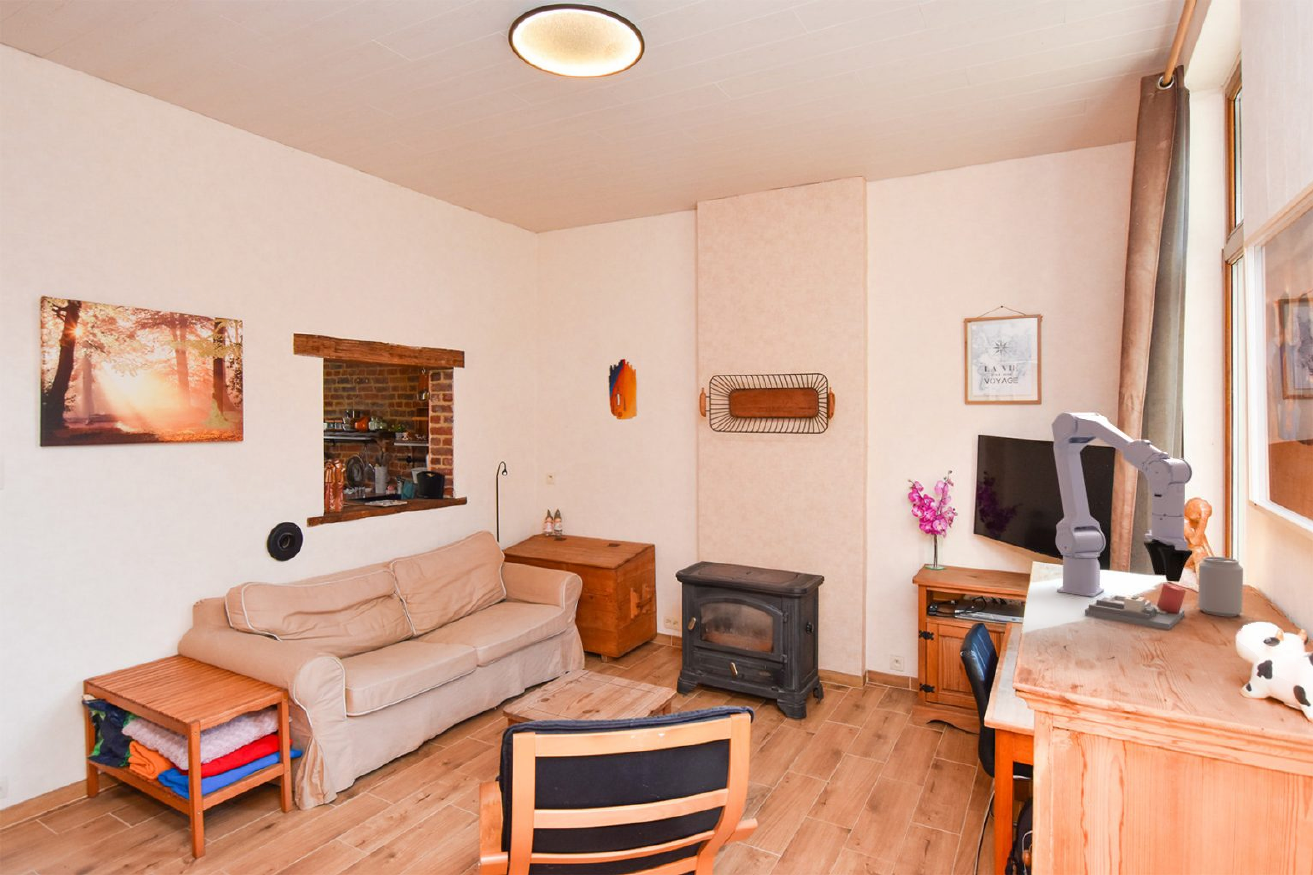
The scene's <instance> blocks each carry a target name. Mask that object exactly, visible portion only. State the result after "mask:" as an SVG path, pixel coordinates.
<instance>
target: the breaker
mask: <svg viewBox="0 0 1313 875" xmlns="http://www.w3.org/2000/svg"><path fill="white" fill-rule="evenodd" d="M1125 597H1126V598H1124V610H1127V611H1133V612H1139V613H1145V604H1146V600H1147V599H1146V597H1143V596H1137V595H1127V596H1125Z"/></svg>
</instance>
